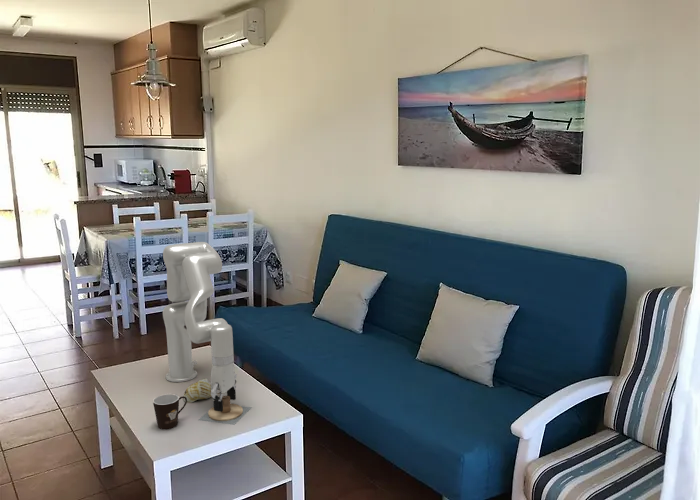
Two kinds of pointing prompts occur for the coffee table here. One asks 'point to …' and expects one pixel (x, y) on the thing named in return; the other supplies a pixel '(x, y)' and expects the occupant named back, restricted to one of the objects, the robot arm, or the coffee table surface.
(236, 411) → the lid
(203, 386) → the seashell
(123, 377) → the coffee table surface
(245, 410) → the mat
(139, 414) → the coffee table surface
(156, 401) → the coffee mug
